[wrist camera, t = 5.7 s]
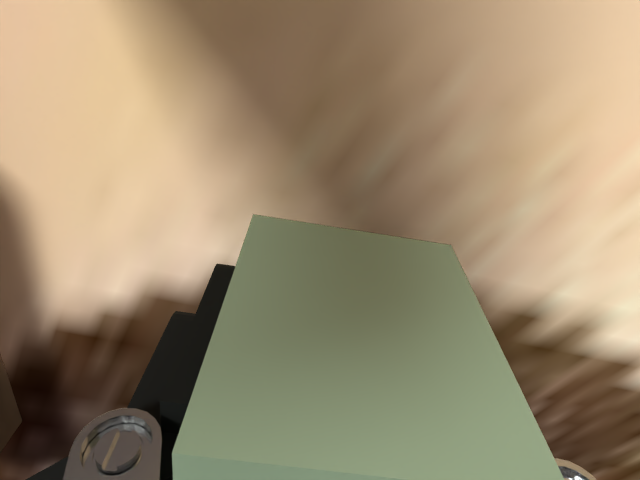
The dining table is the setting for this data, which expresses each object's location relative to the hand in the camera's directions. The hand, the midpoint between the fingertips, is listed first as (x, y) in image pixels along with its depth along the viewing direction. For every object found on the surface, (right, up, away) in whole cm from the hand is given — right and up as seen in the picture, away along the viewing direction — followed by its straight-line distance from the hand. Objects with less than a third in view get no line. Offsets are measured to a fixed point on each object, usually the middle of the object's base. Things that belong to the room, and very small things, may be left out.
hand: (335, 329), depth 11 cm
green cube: (0, 0, +1) cm, 1 cm away
